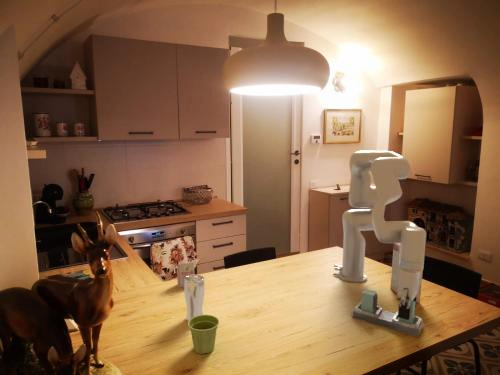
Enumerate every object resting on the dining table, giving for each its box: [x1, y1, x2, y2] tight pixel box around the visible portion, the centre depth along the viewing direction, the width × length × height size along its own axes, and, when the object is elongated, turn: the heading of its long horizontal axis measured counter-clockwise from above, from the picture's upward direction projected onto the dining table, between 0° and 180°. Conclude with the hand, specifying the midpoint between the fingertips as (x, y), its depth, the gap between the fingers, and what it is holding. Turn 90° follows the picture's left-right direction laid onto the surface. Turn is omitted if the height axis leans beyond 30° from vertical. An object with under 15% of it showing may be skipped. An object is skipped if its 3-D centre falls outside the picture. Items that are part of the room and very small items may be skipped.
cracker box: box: [389, 243, 424, 304], centre depth 150 cm, size 14×6×21 cm, turn 5°
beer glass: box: [183, 274, 206, 322], centre depth 130 cm, size 7×7×15 cm
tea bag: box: [176, 261, 196, 289], centre depth 159 cm, size 4×7×10 cm, turn 110°
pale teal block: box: [397, 301, 417, 324], centre depth 126 cm, size 4×4×7 cm
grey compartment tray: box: [351, 301, 424, 338], centre depth 130 cm, size 22×7×4 cm, turn 55°
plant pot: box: [187, 314, 220, 355], centre depth 113 cm, size 9×9×9 cm
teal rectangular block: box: [360, 288, 379, 313], centre depth 133 cm, size 4×4×7 cm
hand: (407, 312), depth 125 cm, fingers open, 9 cm apart
